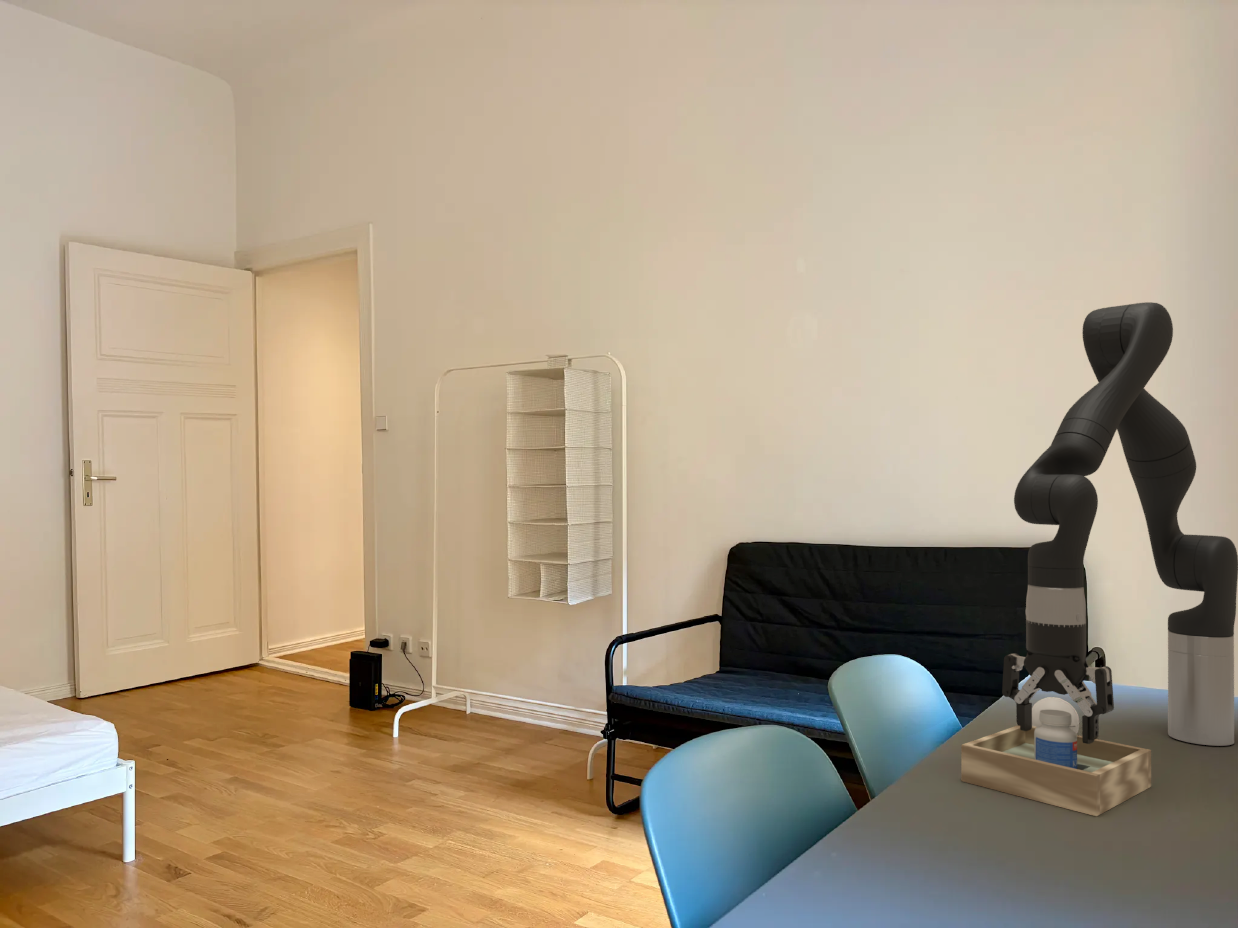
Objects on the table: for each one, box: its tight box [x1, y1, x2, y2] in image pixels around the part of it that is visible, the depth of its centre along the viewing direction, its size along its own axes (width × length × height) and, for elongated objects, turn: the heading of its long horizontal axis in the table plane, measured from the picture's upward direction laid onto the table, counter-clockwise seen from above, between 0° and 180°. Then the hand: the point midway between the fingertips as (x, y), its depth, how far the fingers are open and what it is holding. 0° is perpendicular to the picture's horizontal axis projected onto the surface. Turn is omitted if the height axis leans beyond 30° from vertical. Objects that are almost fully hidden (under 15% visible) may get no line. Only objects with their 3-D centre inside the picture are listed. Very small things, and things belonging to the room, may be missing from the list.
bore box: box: [960, 724, 1152, 817], centre depth 130 cm, size 18×18×5 cm
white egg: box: [1032, 696, 1081, 735], centre depth 149 cm, size 10×7×7 cm
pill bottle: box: [1034, 710, 1078, 769], centre depth 130 cm, size 6×5×10 cm
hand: (1056, 736), depth 130 cm, fingers open, 8 cm apart
